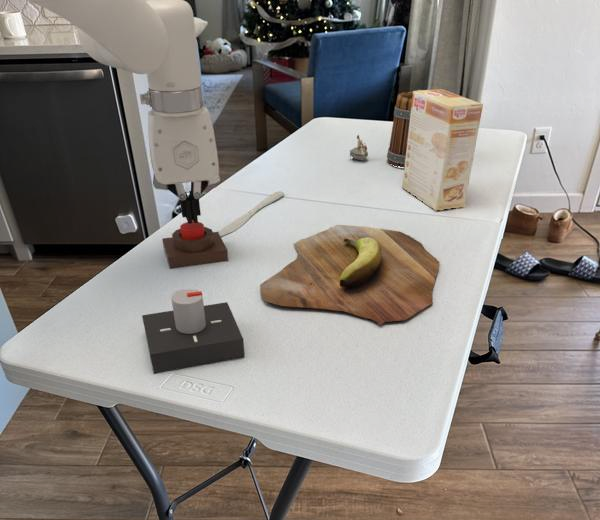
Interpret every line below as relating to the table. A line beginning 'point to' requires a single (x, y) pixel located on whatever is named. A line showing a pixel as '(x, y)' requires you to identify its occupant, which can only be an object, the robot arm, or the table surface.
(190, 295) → the dial
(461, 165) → the coffeecake box
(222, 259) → the block
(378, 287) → the cutting board
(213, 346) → the dial panel
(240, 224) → the butter knife
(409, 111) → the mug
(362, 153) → the figurine
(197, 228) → the power button
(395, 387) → the table surface
